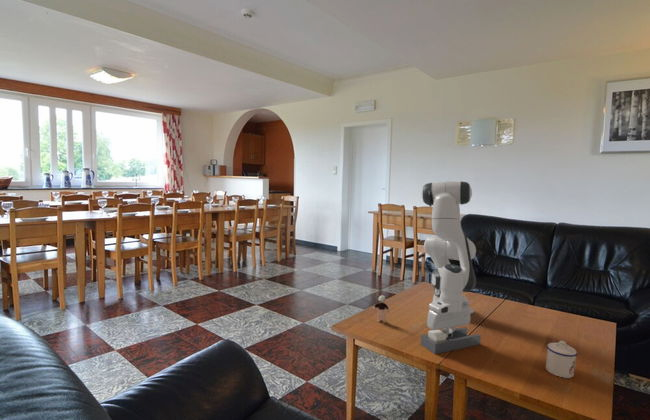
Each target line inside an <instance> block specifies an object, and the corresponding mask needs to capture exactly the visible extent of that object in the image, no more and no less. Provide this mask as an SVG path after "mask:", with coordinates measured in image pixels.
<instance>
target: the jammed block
mask: <svg viewBox="0 0 650 420" xmlns="http://www.w3.org/2000/svg"><path fill="white" fill-rule="evenodd" d="M442 331H443V330H441V329H439V330H432V329H430V330H428V332H427V334H428V337H429V338H430V339H432V340H433V341H435V342H439V341H444V340H446V334H445V333H444V332H442Z"/></svg>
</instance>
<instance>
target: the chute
mask: <svg viewBox="0 0 650 420" xmlns="http://www.w3.org/2000/svg"><path fill="white" fill-rule="evenodd" d="M441 331H442V332H444V331H443V330H441ZM447 331H449V329H448V330H447ZM481 336H482V335H481V334H479V333H477V334H476V333H475V334H470V335H468V327H466V326H462V327H458V328H457V327H455V330H454V332H453V336H452V337H447V338H446V340H444V341H439V342H435V341H433V340H432V339H430V338H429V337H428V333H425V334H421V335H420V345H421V346H422V347H424V348H425V349H427V350H428V351H429V352H431V353H432V354H434V355H437V354H442V353H447V352H452V351H456V350H461V349H465V348H471V347H475V346H479V344H481Z"/></svg>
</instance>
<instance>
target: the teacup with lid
mask: <svg viewBox="0 0 650 420" xmlns="http://www.w3.org/2000/svg"><path fill="white" fill-rule="evenodd" d="M546 347H547V351H546V352H547V353H546V363H545V369H546V370H547V372H548V373H549V374H552V375H554V376H556V377H558V376H559V378H562V377H563V378H562V379H571V377H572V378H573V377H574V376H575V370H576V369H575V368H576V367H575V366H576V359H577V355H578V352H577V349H575V348H574V347H573V346H570V345H569V344H568V343H566V341H565V340H559V341H558V342H557V341H556V342H549V343H548V344H547V346H546Z"/></svg>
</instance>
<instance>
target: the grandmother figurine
mask: <svg viewBox="0 0 650 420" xmlns="http://www.w3.org/2000/svg"><path fill="white" fill-rule="evenodd" d="M377 300H378V301H379V302H377V303H375V305H374V306H373V308H372V309H373V310H374V311H375V310H376V309H377V323H381V324H382V323H383V324H385V323H388V322H387V315H386V311H387V313H390V308H389V306H388V305H387V304H386V303H385V302H386V296H385V295H383V294H382V295H379V297H378V299H377Z"/></svg>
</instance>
